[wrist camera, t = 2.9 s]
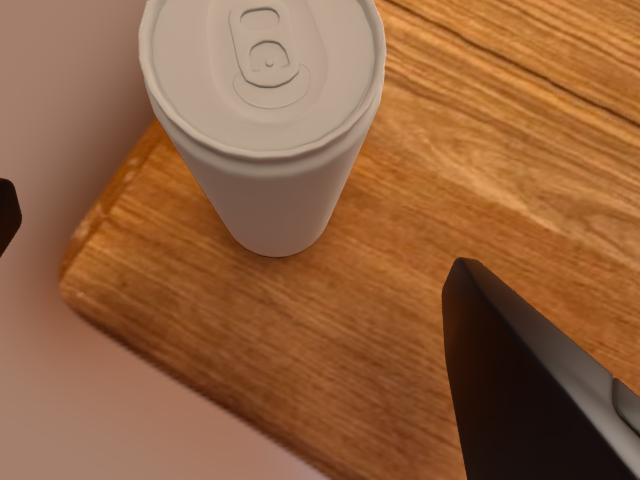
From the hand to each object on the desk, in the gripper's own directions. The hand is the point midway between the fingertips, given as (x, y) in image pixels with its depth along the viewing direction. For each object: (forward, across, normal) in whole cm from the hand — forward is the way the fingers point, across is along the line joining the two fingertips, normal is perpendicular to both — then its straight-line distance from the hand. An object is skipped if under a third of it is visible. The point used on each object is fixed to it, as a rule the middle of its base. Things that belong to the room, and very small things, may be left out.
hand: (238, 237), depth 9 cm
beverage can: (+10, 0, +5) cm, 11 cm away
